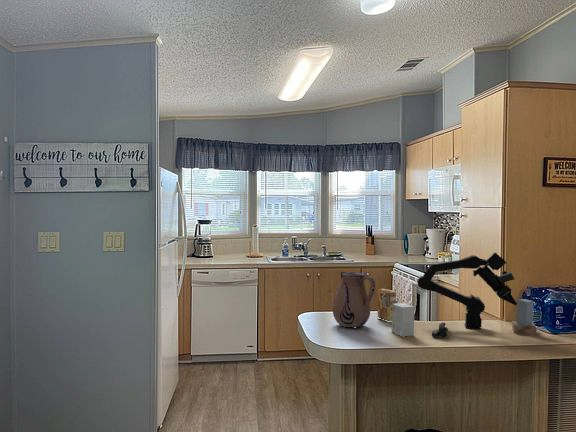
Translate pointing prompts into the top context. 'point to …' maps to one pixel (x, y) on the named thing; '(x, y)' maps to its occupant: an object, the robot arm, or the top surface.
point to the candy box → (386, 303)
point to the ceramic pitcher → (353, 300)
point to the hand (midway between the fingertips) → (514, 302)
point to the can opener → (441, 331)
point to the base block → (524, 329)
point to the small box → (403, 319)
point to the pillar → (525, 312)
